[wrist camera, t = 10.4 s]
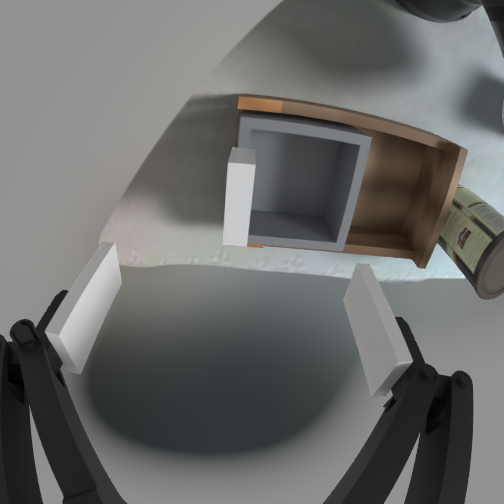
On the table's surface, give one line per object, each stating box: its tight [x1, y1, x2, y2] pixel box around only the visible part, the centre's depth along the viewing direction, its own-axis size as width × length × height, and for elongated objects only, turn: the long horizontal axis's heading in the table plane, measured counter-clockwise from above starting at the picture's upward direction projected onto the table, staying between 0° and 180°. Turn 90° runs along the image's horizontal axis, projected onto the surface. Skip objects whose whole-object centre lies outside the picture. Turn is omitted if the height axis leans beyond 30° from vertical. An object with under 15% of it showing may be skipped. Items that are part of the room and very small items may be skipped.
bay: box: [236, 94, 468, 269], centre depth 31 cm, size 16×25×8 cm, turn 84°
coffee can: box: [437, 185, 504, 300], centre depth 31 cm, size 10×10×14 cm
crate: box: [223, 109, 372, 252], centre depth 28 cm, size 13×12×12 cm
